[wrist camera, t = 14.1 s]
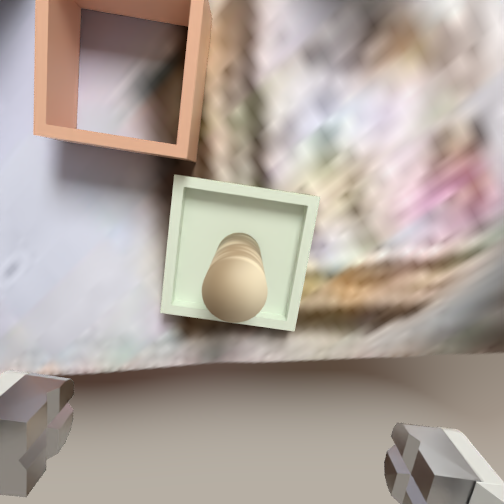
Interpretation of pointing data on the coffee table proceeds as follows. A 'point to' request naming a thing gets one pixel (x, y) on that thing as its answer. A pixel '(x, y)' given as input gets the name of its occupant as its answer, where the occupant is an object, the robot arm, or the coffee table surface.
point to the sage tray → (237, 221)
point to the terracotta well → (67, 71)
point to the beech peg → (235, 280)
